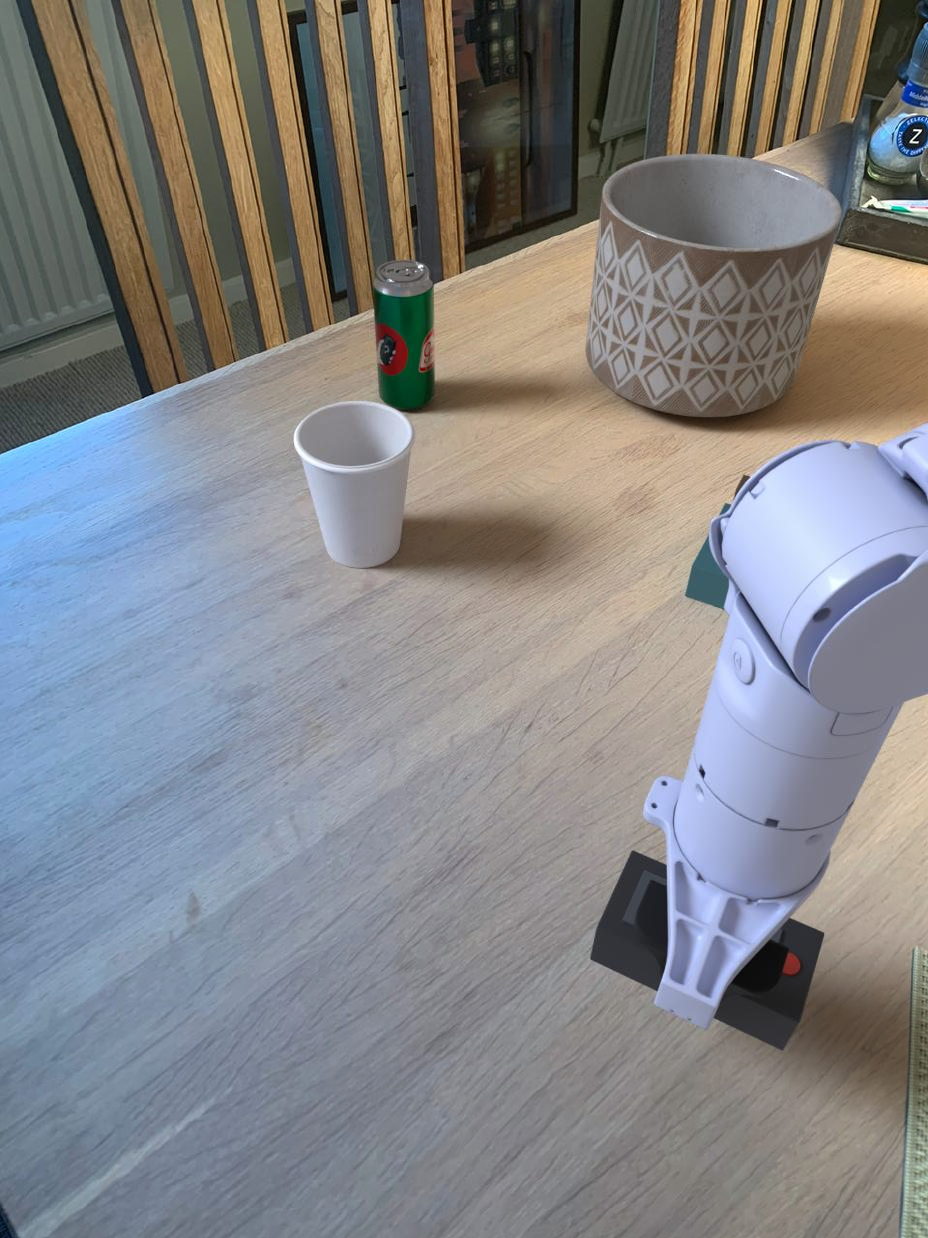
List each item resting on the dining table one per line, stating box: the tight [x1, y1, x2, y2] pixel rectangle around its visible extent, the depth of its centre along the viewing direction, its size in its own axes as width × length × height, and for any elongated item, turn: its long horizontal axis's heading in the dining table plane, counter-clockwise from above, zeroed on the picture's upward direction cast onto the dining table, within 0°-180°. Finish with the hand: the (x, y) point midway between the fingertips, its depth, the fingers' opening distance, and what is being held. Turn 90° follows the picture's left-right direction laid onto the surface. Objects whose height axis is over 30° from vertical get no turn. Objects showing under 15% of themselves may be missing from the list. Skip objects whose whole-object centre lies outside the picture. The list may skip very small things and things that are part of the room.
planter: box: [585, 153, 843, 418], centre depth 87 cm, size 19×19×16 cm
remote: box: [589, 849, 825, 1051], centre depth 45 cm, size 9×4×3 cm, turn 63°
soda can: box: [372, 259, 436, 411], centre depth 85 cm, size 5×5×12 cm
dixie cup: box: [293, 400, 416, 569], centre depth 72 cm, size 8×8×10 cm
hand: (705, 944), depth 44 cm, fingers closed on remote, 4 cm apart
